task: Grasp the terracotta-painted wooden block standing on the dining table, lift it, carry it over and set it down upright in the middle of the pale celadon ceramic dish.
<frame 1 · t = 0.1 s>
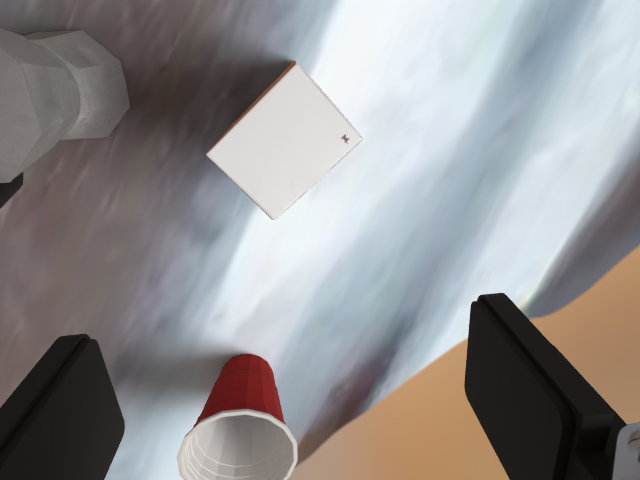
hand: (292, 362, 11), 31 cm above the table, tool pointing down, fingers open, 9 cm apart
small box: (286, 119, 39), on the table
plastic cup: (249, 371, 50), on the table
coffeepot: (75, 99, 37), on the table
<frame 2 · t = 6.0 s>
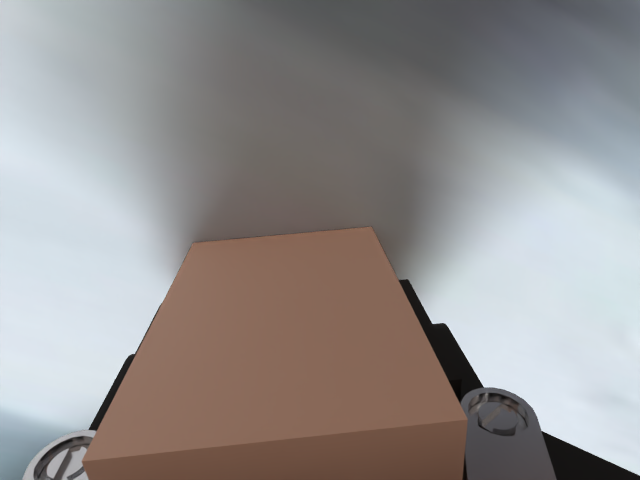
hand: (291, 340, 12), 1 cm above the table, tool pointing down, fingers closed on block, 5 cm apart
block: (291, 310, 13), on the table, touching gripper
when the fingers open (4 cm above the table, at t = 12.8 s): block stays where it is, resting on dish.
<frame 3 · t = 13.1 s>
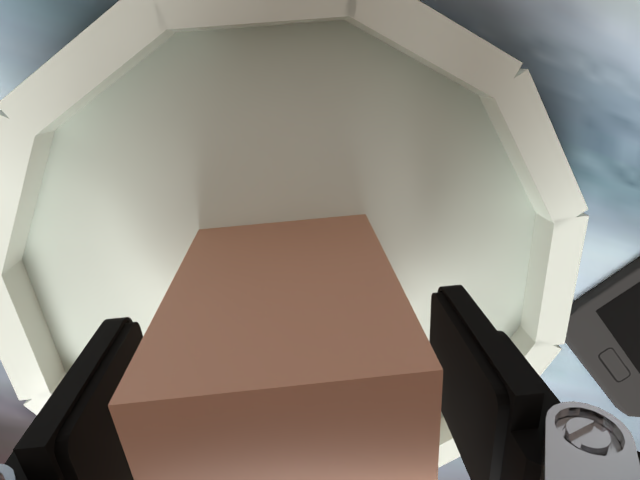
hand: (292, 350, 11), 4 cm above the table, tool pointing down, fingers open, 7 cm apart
block: (291, 294, 14), point 2 cm above the table, touching dish
dish: (290, 272, 15), on the table
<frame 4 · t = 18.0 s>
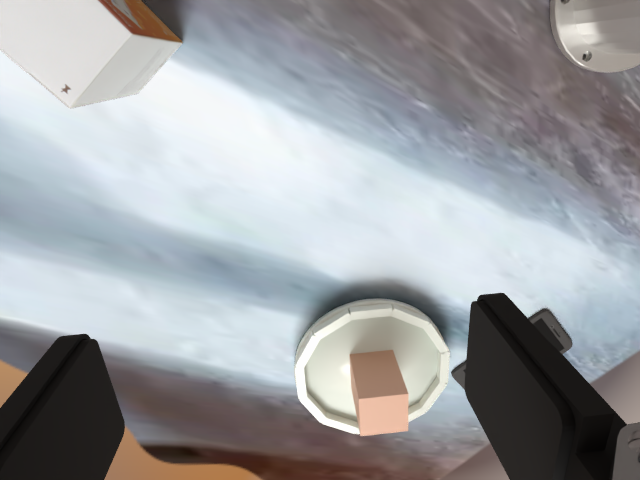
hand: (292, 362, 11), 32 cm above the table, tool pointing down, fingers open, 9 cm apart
cell phone: (508, 355, 53), on the table
block: (371, 369, 50), point 2 cm above the table, touching dish
small box: (124, 31, 36), on the table
dish: (369, 360, 51), on the table
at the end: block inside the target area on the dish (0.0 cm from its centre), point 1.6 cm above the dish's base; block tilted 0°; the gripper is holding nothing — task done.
